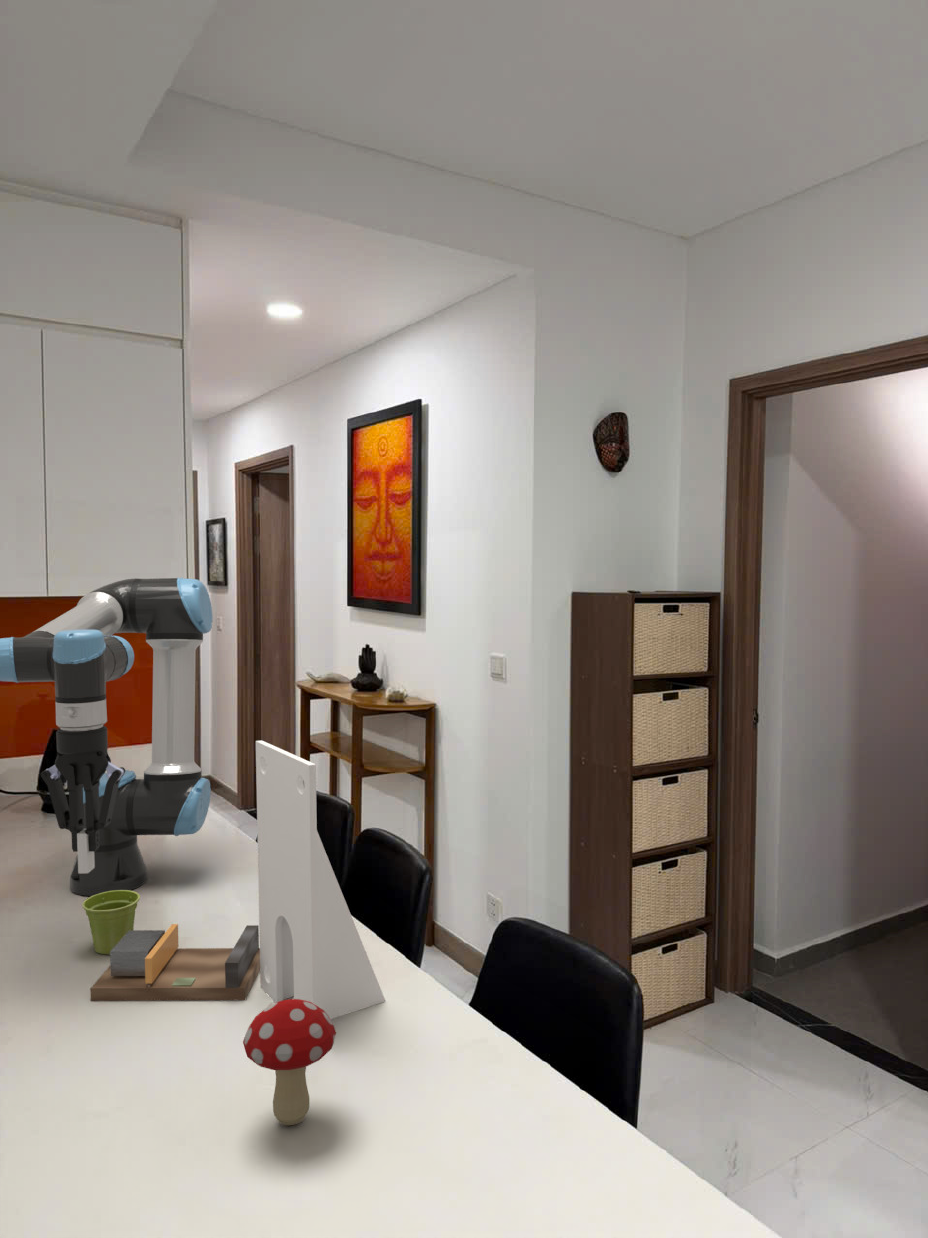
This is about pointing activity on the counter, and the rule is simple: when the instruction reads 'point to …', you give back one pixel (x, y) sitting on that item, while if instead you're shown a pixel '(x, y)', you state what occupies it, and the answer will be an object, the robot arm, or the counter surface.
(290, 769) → the white bracket plate
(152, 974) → the upright wooden plank
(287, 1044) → the decorative mushroom
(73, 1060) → the counter surface
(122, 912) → the plant pot
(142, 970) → the grey foam block
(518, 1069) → the counter surface
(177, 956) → the gauge board
